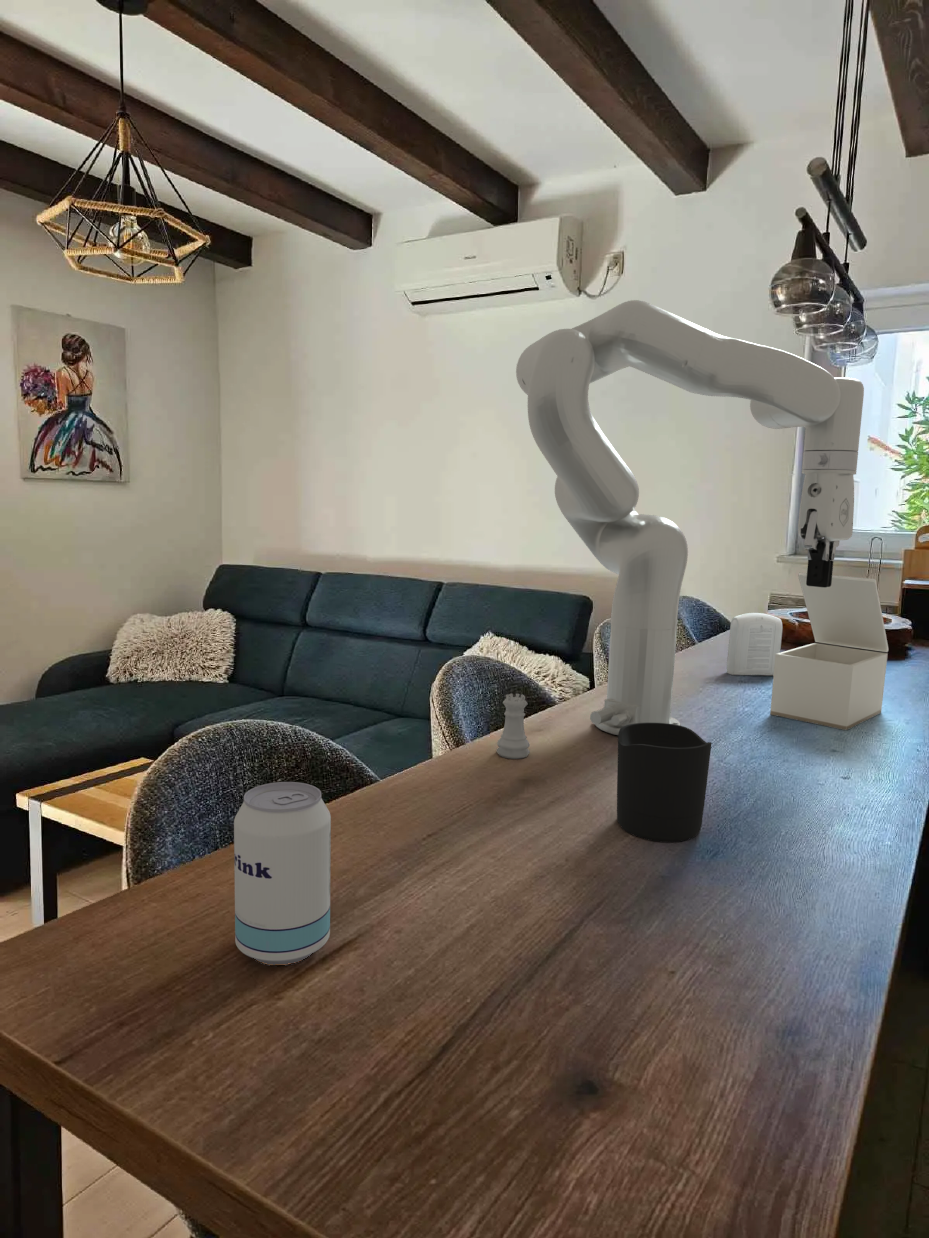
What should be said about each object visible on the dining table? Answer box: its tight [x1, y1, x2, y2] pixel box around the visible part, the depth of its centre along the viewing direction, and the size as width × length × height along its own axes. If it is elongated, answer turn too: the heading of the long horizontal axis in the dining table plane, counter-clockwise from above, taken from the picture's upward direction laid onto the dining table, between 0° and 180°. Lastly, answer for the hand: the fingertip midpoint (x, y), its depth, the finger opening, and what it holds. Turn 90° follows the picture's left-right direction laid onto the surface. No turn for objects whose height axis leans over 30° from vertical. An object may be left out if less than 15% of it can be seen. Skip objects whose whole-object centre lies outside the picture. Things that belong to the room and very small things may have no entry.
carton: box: [770, 642, 889, 731], centre depth 137 cm, size 16×12×10 cm
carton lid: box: [797, 572, 889, 653], centre depth 137 cm, size 16×12×1 cm
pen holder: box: [616, 723, 713, 843], centre depth 87 cm, size 9×9×10 cm
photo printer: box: [726, 612, 784, 677], centre depth 166 cm, size 10×4×12 cm, turn 98°
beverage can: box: [233, 781, 332, 965], centre depth 62 cm, size 7×7×12 cm
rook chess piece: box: [495, 693, 531, 760], centre depth 110 cm, size 4×4×8 cm
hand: (818, 586), depth 128 cm, fingers closed
